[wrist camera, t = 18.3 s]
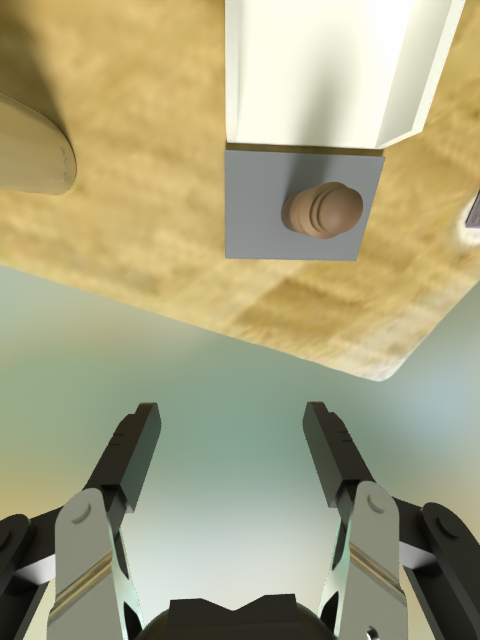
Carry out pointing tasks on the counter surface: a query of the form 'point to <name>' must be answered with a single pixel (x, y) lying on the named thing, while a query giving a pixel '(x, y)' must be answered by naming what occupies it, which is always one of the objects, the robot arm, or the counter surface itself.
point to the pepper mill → (323, 210)
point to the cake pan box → (474, 215)
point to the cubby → (334, 69)
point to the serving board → (275, 188)
